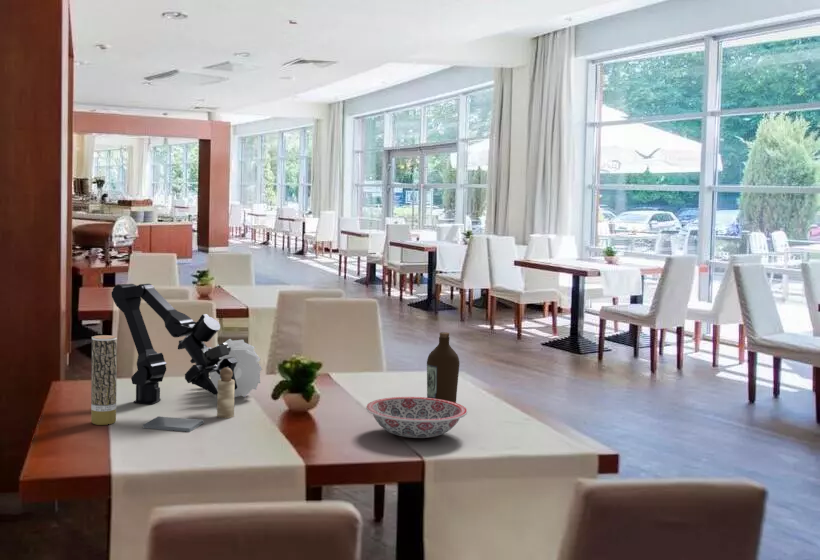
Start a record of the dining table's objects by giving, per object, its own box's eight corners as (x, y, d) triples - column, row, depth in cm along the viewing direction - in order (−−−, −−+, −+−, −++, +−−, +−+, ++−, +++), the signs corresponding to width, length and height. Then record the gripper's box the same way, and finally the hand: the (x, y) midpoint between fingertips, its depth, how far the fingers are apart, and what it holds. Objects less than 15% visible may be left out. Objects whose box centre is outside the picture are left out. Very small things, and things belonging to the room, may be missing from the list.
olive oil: (448, 404, 298) (452, 330, 296) (463, 411, 288) (466, 335, 286) (419, 405, 294) (422, 330, 291) (433, 413, 284) (436, 335, 282)
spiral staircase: (245, 396, 316) (248, 409, 291) (199, 375, 312) (198, 386, 287) (268, 350, 317) (273, 359, 292) (223, 328, 313) (224, 335, 289)
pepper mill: (214, 417, 268) (215, 368, 267) (220, 413, 273) (221, 365, 272) (230, 418, 267) (231, 369, 266) (236, 415, 272) (237, 366, 271)
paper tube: (121, 422, 259) (122, 336, 256) (104, 427, 252) (104, 339, 250) (103, 418, 261) (104, 334, 259) (85, 423, 255) (86, 337, 253)
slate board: (142, 428, 253) (142, 424, 253) (158, 419, 263) (158, 416, 263) (189, 431, 251) (189, 428, 251) (203, 423, 261) (203, 420, 260)
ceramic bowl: (392, 453, 237) (393, 423, 237) (349, 427, 263) (350, 400, 262) (485, 443, 251) (486, 415, 250) (435, 419, 277) (436, 393, 276)
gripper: (192, 338, 262) (221, 379, 258) (233, 331, 278) (261, 370, 274) (172, 362, 266) (200, 403, 262) (213, 353, 283) (240, 392, 279)
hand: (226, 391), depth 269 cm, fingers open, 9 cm apart
